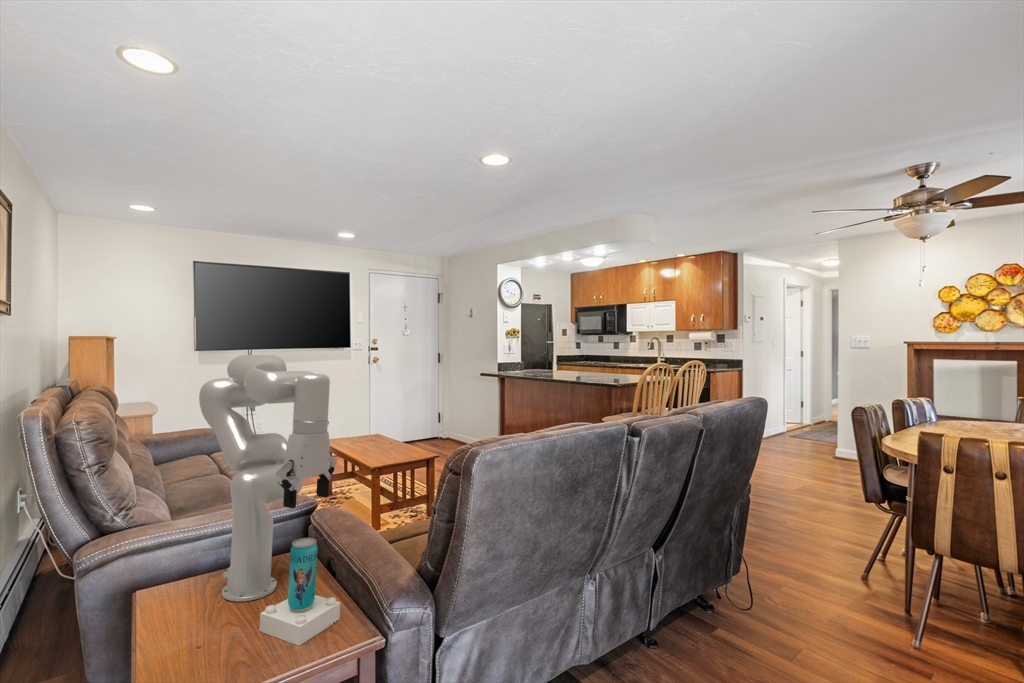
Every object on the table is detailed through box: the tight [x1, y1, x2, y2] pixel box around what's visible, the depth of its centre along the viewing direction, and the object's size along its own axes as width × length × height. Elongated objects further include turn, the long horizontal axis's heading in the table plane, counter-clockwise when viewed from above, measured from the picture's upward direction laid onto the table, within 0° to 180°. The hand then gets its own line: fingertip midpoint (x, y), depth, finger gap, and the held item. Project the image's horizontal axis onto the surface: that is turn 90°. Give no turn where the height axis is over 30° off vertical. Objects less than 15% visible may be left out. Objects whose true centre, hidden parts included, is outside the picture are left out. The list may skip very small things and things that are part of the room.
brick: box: [258, 594, 341, 647], centre depth 116 cm, size 12×12×5 cm
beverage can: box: [287, 537, 318, 612], centre depth 116 cm, size 6×6×15 cm
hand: (306, 501), depth 116 cm, fingers open, 9 cm apart
